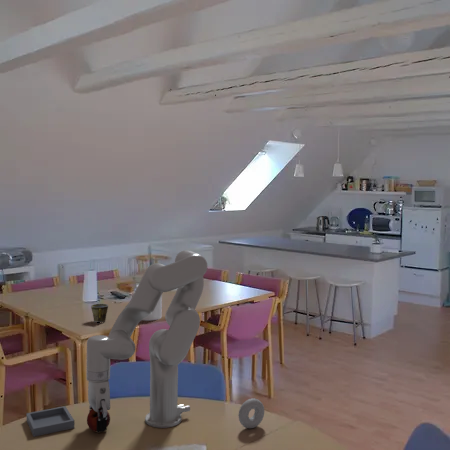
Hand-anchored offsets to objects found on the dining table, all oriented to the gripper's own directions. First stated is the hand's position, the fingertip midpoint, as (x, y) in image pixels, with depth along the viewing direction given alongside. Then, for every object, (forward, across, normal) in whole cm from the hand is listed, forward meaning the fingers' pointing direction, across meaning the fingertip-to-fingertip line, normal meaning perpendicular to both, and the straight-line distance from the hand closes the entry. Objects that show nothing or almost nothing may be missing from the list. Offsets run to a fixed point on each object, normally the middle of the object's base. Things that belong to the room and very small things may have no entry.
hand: (97, 425), depth 169 cm
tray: (+2, +12, +13) cm, 18 cm away
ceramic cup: (+2, +136, -41) cm, 142 cm away
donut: (+2, -22, -46) cm, 51 cm away
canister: (+2, +135, -72) cm, 153 cm away
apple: (+2, 0, 0) cm, 2 cm away
